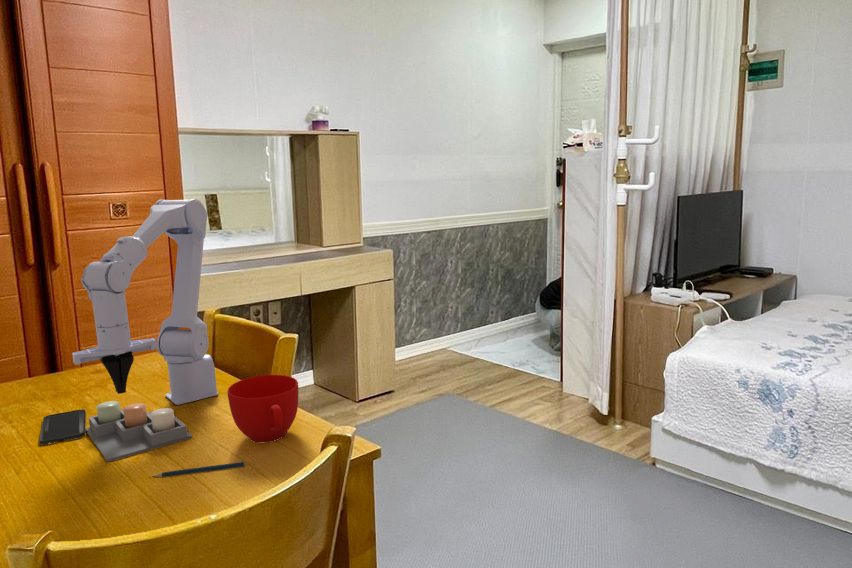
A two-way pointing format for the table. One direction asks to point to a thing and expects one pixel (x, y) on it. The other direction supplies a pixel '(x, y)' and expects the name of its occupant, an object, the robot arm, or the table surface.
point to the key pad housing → (132, 437)
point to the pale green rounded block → (108, 412)
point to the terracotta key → (135, 415)
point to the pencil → (200, 469)
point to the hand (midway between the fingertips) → (121, 391)
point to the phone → (63, 426)
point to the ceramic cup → (264, 406)
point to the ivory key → (162, 419)
